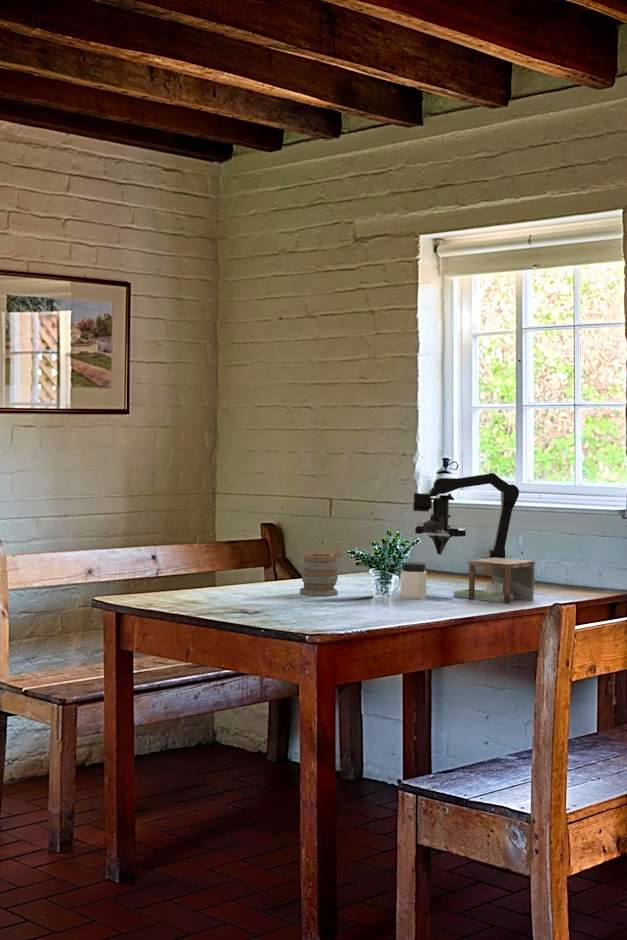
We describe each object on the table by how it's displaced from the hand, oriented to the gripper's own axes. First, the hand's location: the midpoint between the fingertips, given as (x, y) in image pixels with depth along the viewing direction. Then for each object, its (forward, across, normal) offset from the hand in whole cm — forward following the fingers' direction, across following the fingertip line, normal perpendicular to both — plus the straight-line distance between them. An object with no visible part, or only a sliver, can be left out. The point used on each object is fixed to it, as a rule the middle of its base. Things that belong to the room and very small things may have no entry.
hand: (439, 554), depth 470 cm
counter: (+13, +30, -7) cm, 33 cm away
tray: (+13, +23, -7) cm, 28 cm away
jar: (+13, +6, -26) cm, 30 cm away
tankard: (+13, -22, -40) cm, 48 cm away
